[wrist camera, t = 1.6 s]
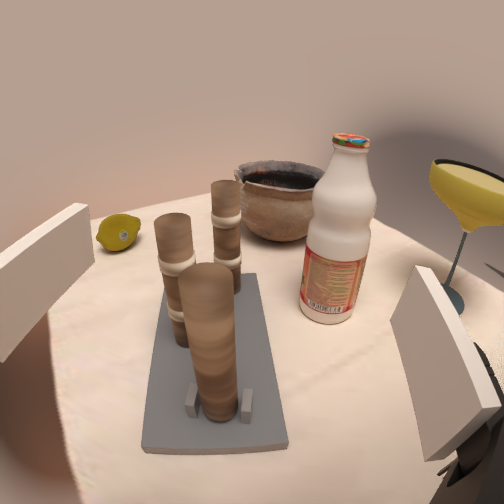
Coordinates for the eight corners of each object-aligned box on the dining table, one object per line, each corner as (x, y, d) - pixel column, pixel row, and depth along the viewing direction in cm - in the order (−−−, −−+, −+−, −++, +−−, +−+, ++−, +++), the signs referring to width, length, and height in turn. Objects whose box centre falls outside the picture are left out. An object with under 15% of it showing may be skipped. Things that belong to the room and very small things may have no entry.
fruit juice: (317, 333, 46) (347, 144, 31) (288, 297, 53) (301, 129, 38) (363, 315, 49) (402, 145, 34) (332, 284, 56) (355, 130, 42)
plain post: (236, 422, 30) (229, 297, 20) (199, 418, 30) (171, 293, 21) (239, 393, 33) (236, 263, 24) (205, 390, 33) (185, 261, 24)
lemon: (101, 261, 62) (92, 228, 57) (98, 245, 67) (91, 214, 63) (147, 249, 66) (141, 216, 62) (141, 234, 72) (136, 204, 68)
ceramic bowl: (226, 217, 80) (224, 161, 72) (303, 209, 85) (308, 157, 77) (247, 263, 62) (247, 191, 54) (343, 249, 67) (353, 185, 59)
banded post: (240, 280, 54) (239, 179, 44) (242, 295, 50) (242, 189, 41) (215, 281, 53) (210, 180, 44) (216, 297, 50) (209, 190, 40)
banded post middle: (204, 326, 44) (193, 211, 34) (204, 348, 40) (190, 228, 31) (175, 327, 43) (156, 213, 34) (173, 349, 40) (149, 230, 30)
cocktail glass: (381, 284, 56) (410, 156, 43) (436, 265, 61) (465, 159, 48) (444, 345, 41) (504, 202, 28) (492, 312, 47) (538, 196, 34)
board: (255, 281, 57) (256, 258, 54) (286, 448, 29) (291, 431, 27) (168, 285, 55) (164, 262, 53) (145, 452, 28) (133, 435, 25)
